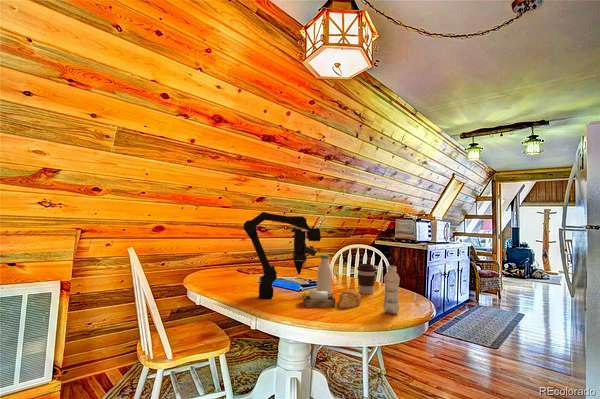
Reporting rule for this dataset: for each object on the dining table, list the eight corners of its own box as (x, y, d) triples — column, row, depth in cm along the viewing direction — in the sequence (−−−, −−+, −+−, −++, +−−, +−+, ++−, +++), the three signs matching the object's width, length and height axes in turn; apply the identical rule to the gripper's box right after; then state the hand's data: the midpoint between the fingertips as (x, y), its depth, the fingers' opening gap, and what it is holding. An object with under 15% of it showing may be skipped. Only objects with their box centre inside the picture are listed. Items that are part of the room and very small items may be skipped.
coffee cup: (354, 293, 170) (355, 265, 171) (358, 289, 179) (359, 262, 180) (373, 296, 166) (374, 266, 167) (376, 291, 175) (377, 264, 176)
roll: (309, 302, 145) (310, 291, 146) (309, 301, 150) (309, 290, 151) (328, 303, 145) (328, 291, 146) (326, 301, 150) (327, 290, 151)
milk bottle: (330, 295, 164) (331, 256, 165) (315, 294, 166) (316, 255, 166) (332, 292, 172) (333, 254, 172) (317, 291, 173) (318, 253, 174)
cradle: (303, 306, 143) (304, 297, 143) (302, 301, 151) (303, 293, 151) (335, 307, 144) (335, 298, 144) (332, 302, 152) (332, 293, 152)
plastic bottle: (380, 310, 141) (381, 264, 142) (395, 310, 141) (396, 265, 142) (385, 315, 134) (386, 267, 135) (401, 315, 135) (402, 267, 136)
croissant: (346, 318, 140) (354, 304, 138) (328, 304, 144) (335, 289, 143) (363, 306, 158) (370, 293, 156) (346, 293, 163) (353, 280, 161)
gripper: (317, 243, 152) (316, 276, 152) (314, 239, 171) (313, 269, 170) (293, 242, 152) (293, 276, 151) (293, 239, 170) (292, 269, 170)
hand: (298, 272), depth 161 cm, fingers open, 9 cm apart
